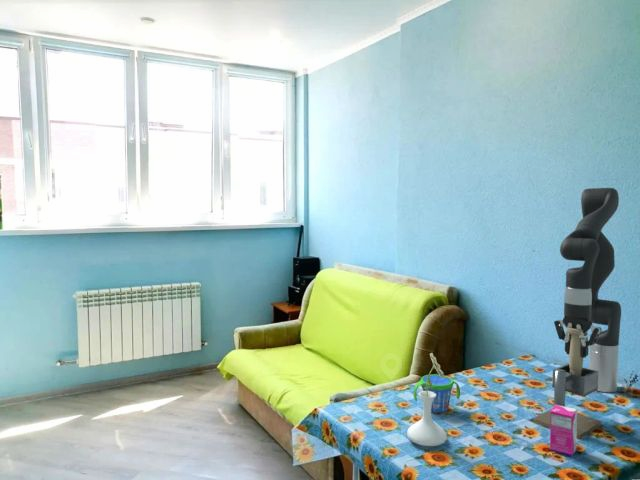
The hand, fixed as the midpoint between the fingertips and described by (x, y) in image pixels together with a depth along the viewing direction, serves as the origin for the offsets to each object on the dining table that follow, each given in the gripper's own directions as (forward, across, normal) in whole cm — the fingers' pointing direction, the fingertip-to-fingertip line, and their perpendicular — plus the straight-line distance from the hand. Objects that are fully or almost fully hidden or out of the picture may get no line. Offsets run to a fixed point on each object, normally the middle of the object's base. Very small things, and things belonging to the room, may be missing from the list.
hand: (576, 355), depth 149 cm
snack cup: (+21, +32, +28) cm, 48 cm away
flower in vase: (+21, +20, +47) cm, 55 cm away
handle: (+6, 0, 0) cm, 6 cm away
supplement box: (+21, -7, +22) cm, 31 cm away
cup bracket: (+21, 0, +4) cm, 21 cm away
